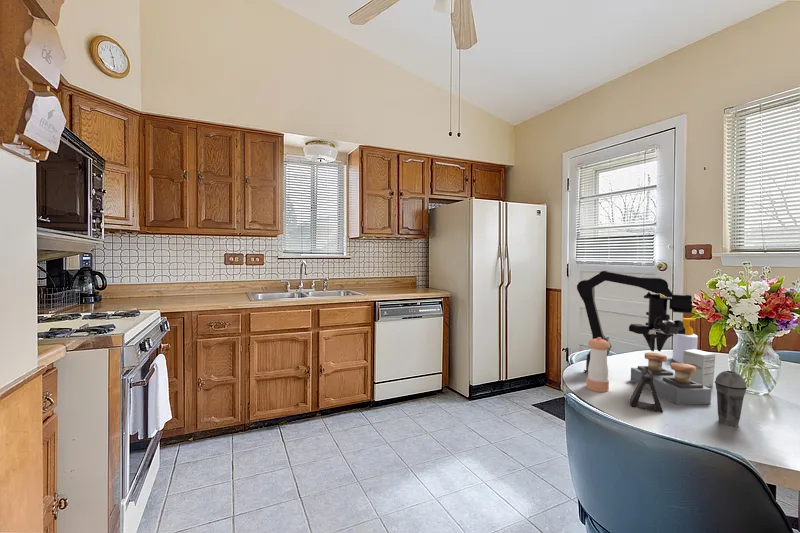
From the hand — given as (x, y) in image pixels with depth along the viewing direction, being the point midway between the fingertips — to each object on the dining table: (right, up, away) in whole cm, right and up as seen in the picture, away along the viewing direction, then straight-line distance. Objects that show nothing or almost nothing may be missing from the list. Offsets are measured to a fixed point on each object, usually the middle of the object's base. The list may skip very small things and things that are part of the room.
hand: (655, 351), depth 143 cm
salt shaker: (-25, -13, -4) cm, 28 cm away
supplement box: (+18, -13, +2) cm, 22 cm away
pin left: (0, -8, 0) cm, 8 cm away
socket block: (0, -13, -6) cm, 15 cm away
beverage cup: (+1, -15, -31) cm, 34 cm away
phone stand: (-17, -14, -20) cm, 30 cm away
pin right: (+1, -9, -13) cm, 15 cm away
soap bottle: (+35, -12, +32) cm, 48 cm away
